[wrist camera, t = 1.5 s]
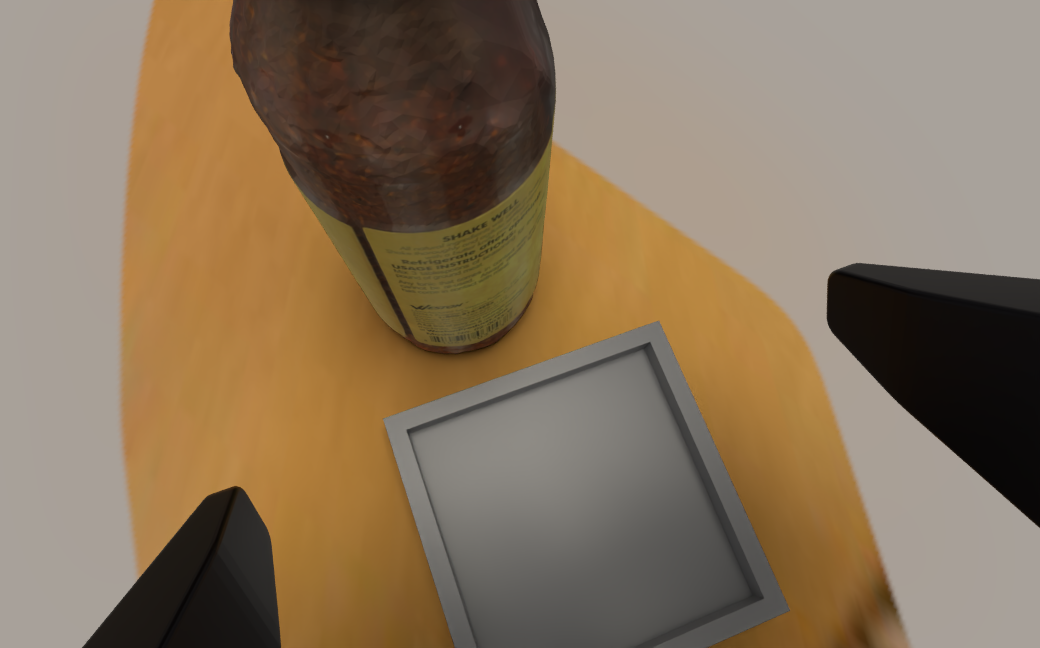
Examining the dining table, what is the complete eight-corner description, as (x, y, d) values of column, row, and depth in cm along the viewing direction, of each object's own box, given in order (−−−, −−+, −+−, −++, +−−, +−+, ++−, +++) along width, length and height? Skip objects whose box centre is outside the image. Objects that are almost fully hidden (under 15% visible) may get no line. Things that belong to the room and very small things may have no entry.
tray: (769, 604, 21) (790, 610, 20) (486, 729, 20) (485, 746, 18) (648, 332, 24) (658, 320, 22) (389, 425, 22) (382, 418, 21)
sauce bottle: (561, 244, 25) (801, -662, 6) (492, 389, 23) (515, -238, 4) (409, 179, 25) (172, -852, 6) (330, 315, 23) (-334, -553, 4)
